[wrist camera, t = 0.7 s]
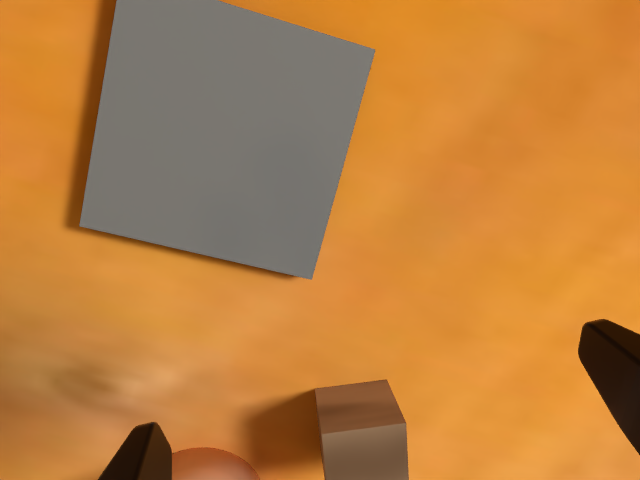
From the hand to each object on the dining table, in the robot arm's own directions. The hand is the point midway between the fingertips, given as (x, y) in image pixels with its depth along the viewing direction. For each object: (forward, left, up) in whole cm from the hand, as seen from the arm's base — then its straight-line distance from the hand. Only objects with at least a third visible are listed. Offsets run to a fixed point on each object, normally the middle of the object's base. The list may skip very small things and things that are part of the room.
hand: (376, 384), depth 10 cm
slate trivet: (+3, +5, -14) cm, 15 cm away
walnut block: (-10, -5, -14) cm, 18 cm away
